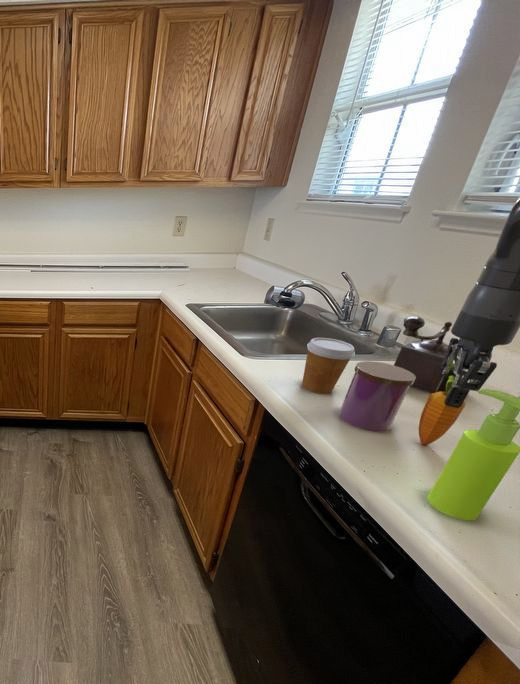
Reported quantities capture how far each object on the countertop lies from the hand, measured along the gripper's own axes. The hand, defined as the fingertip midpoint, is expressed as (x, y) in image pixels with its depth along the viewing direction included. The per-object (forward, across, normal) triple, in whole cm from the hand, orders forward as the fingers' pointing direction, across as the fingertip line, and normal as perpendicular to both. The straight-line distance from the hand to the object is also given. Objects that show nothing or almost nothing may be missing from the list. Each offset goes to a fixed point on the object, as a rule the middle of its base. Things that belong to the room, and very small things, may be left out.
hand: (447, 399), depth 78 cm
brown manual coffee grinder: (+11, +34, -5) cm, 36 cm away
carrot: (+11, 0, 0) cm, 11 cm away
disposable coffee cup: (+11, +18, +17) cm, 27 cm away
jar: (+10, +5, +9) cm, 15 cm away
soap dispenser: (+11, -20, +1) cm, 23 cm away
